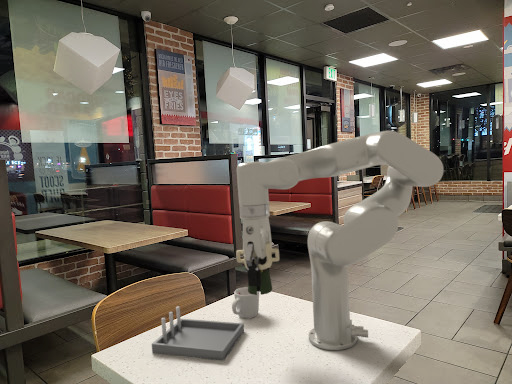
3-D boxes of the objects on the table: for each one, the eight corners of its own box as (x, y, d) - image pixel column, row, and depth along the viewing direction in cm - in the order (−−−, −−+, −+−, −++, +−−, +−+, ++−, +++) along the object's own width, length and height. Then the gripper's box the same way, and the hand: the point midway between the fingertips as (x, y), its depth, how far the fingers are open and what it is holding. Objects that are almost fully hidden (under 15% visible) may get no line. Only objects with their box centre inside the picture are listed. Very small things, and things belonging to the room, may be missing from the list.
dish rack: (244, 331, 106) (242, 305, 106) (223, 361, 91) (221, 330, 91) (181, 326, 112) (179, 301, 112) (152, 353, 97) (150, 324, 97)
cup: (244, 326, 110) (242, 300, 110) (224, 320, 115) (222, 295, 114) (265, 313, 119) (264, 289, 118) (246, 308, 124) (244, 285, 123)
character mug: (236, 298, 92) (233, 246, 91) (241, 288, 99) (237, 240, 98) (280, 297, 90) (277, 244, 89) (282, 287, 97) (279, 238, 96)
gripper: (259, 216, 83) (264, 293, 85) (277, 206, 100) (281, 270, 101) (228, 217, 86) (233, 292, 87) (250, 207, 102) (255, 270, 104)
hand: (259, 280), depth 94 cm, fingers closed on character mug, 7 cm apart
